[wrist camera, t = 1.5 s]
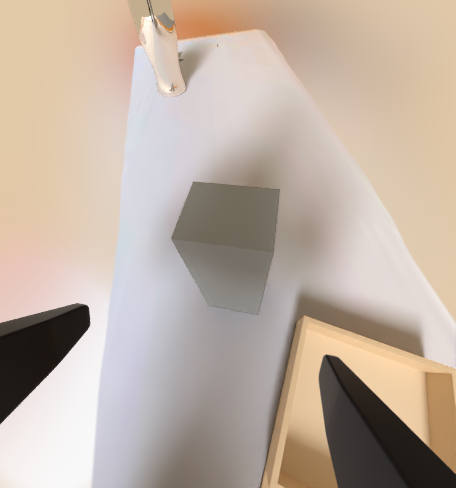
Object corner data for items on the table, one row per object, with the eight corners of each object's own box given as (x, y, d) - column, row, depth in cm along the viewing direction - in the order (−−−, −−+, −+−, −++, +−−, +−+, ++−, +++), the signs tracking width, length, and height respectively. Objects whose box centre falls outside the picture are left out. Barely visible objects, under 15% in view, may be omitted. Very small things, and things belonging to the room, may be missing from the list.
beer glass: (192, 93, 45) (170, -19, 32) (160, 101, 44) (125, -10, 31) (183, 80, 48) (161, -26, 35) (153, 87, 47) (119, -18, 34)
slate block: (209, 305, 22) (171, 238, 10) (217, 270, 24) (193, 181, 12) (257, 314, 21) (273, 252, 10) (262, 277, 23) (279, 189, 12)
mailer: (237, 598, 13) (234, 658, 10) (296, 322, 20) (304, 315, 18) (450, 753, 10) (521, 886, 7) (426, 369, 18) (457, 369, 15)
